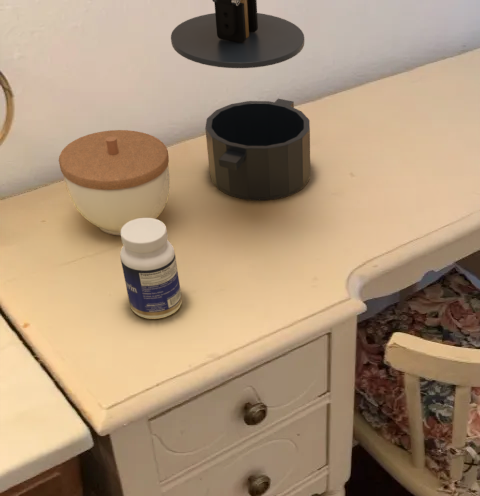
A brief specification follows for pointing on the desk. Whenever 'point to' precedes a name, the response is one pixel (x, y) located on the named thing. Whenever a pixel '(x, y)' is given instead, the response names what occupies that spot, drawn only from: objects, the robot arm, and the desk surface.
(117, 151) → the lidded bowl
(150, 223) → the pill bottle
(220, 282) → the desk surface
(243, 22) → the robot arm
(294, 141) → the pan
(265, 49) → the pan lid
